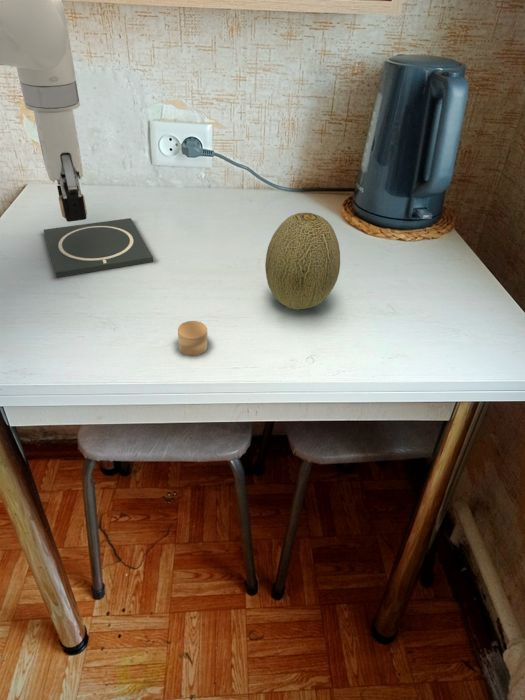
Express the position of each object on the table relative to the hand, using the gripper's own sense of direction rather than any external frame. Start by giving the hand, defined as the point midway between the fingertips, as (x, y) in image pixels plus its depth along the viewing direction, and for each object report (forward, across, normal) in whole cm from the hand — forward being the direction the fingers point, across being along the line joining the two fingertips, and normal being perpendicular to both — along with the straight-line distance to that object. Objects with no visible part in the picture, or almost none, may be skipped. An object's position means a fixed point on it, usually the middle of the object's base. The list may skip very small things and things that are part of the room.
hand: (73, 212), depth 85 cm
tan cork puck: (0, 0, 0) cm, 0 cm away
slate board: (+7, -1, +3) cm, 8 cm away
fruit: (+8, +27, +29) cm, 40 cm away
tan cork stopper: (+7, +32, +10) cm, 34 cm away
